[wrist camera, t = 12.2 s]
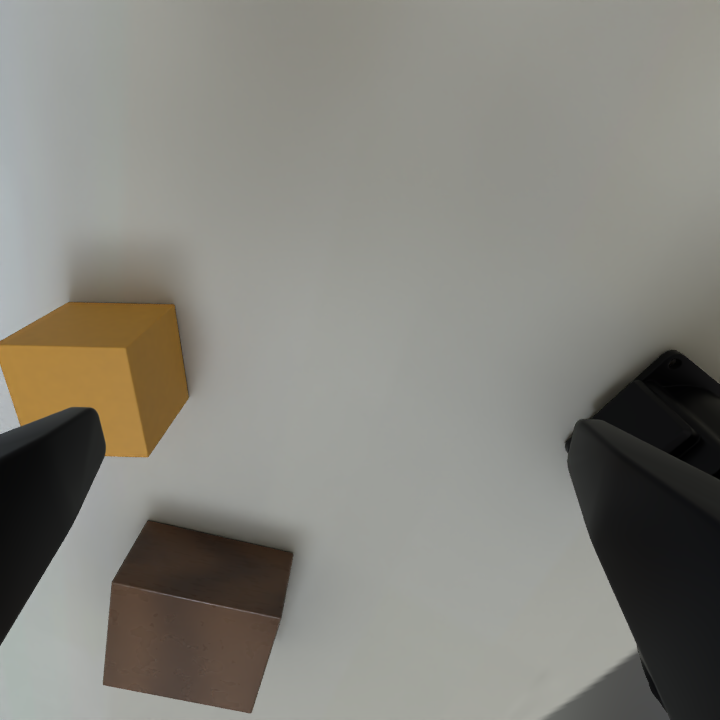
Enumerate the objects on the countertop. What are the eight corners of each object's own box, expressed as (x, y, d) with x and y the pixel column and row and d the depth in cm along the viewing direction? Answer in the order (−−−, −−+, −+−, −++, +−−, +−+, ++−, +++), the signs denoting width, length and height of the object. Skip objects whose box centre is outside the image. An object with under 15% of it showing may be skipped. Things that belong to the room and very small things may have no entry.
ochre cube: (174, 304, 21) (125, 347, 17) (189, 398, 23) (148, 457, 19) (67, 301, 21) (-7, 344, 17) (91, 395, 23) (29, 454, 19)
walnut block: (294, 552, 27) (281, 618, 23) (265, 644, 30) (251, 714, 27) (147, 519, 26) (111, 582, 23) (135, 617, 30) (102, 685, 26)
